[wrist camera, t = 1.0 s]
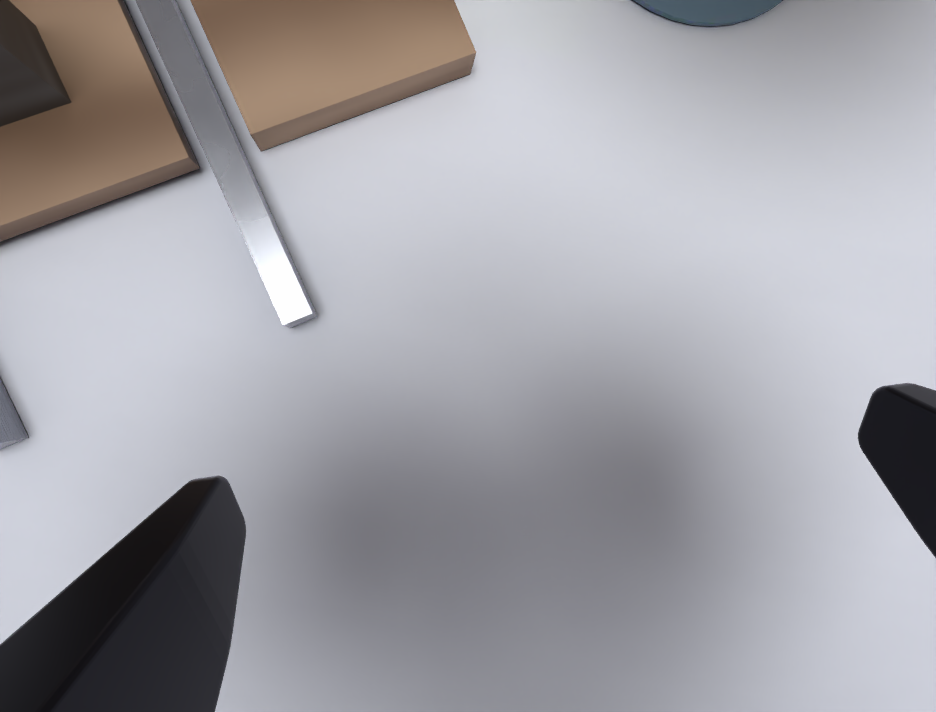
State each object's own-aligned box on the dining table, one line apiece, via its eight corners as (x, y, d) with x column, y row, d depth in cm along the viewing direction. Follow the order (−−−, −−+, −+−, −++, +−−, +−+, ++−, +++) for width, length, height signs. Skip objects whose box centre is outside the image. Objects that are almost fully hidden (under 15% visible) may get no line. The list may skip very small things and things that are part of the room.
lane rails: (317, 316, 19) (312, 312, 18) (-3, 450, 18) (-37, 457, 16) (43, -294, 18) (14, -349, 17) (-321, -205, 17) (-386, -257, 15)
